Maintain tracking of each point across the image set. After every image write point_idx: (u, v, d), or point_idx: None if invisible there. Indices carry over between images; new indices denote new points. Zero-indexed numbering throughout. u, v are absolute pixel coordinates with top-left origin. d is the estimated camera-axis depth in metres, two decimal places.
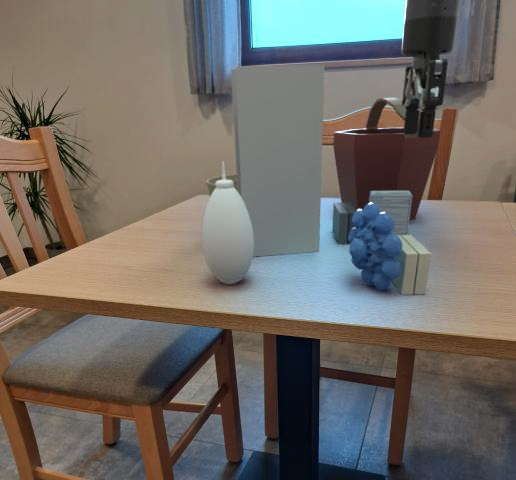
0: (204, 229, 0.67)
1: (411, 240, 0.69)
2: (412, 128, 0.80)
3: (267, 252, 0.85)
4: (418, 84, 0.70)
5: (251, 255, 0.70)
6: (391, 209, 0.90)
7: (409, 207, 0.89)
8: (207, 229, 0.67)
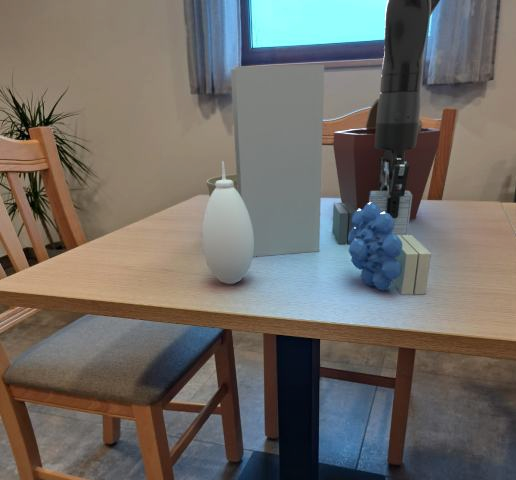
0: (204, 229, 0.67)
1: (411, 240, 0.69)
2: None
3: (267, 252, 0.85)
4: (387, 176, 0.86)
5: (251, 255, 0.70)
6: None
7: (409, 207, 0.89)
8: (207, 229, 0.67)
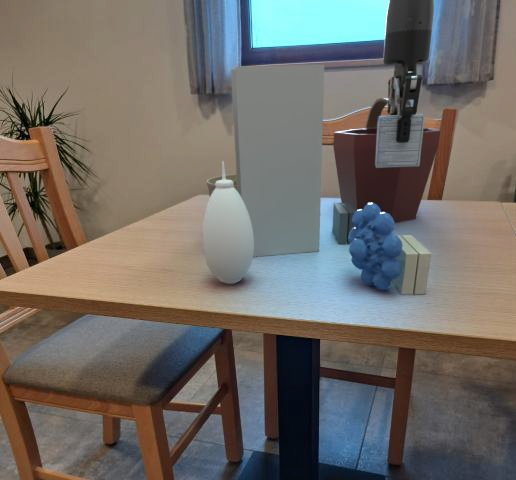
0: (204, 229, 0.67)
1: (411, 240, 0.69)
2: None
3: (267, 252, 0.85)
4: (397, 94, 0.79)
5: (251, 255, 0.70)
6: None
7: (421, 130, 0.82)
8: (207, 229, 0.67)
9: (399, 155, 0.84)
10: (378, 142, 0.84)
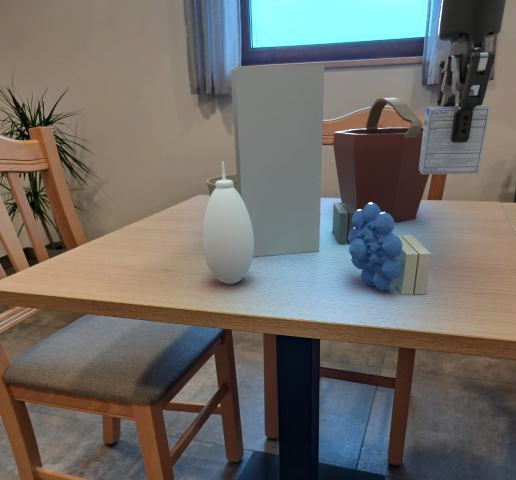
0: (204, 229, 0.67)
1: (411, 240, 0.69)
2: None
3: (267, 252, 0.85)
4: (456, 78, 0.60)
5: (251, 255, 0.70)
6: None
7: (485, 126, 0.62)
8: (207, 229, 0.67)
9: (454, 159, 0.65)
10: (427, 141, 0.65)
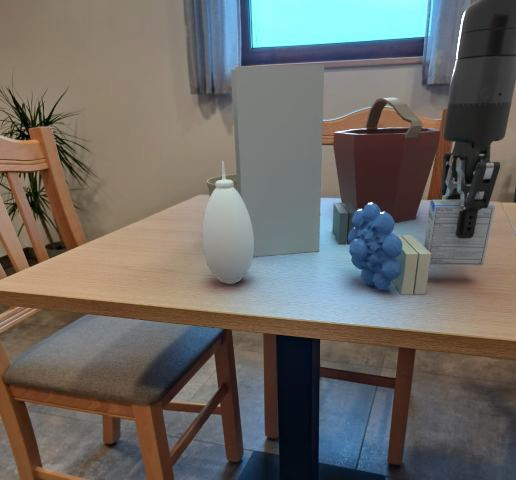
0: (204, 229, 0.67)
1: (411, 240, 0.69)
2: None
3: (267, 252, 0.85)
4: (461, 180, 0.61)
5: (251, 255, 0.70)
6: None
7: (489, 223, 0.63)
8: (207, 229, 0.67)
9: (458, 251, 0.66)
10: (432, 235, 0.66)
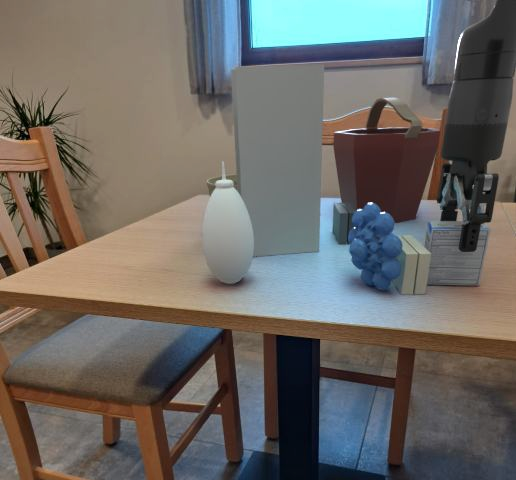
0: (204, 229, 0.67)
1: (411, 240, 0.69)
2: None
3: (267, 252, 0.85)
4: (461, 194, 0.61)
5: (251, 255, 0.70)
6: None
7: (485, 245, 0.65)
8: (207, 229, 0.67)
9: (455, 272, 0.67)
10: None
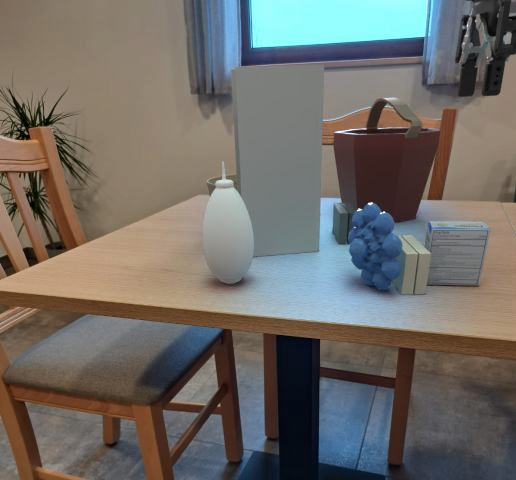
0: (204, 229, 0.67)
1: (411, 240, 0.69)
2: (468, 89, 0.69)
3: (267, 252, 0.85)
4: (484, 31, 0.59)
5: (251, 255, 0.70)
6: (460, 247, 0.66)
7: (485, 245, 0.65)
8: (207, 229, 0.67)
9: (455, 272, 0.67)
10: None
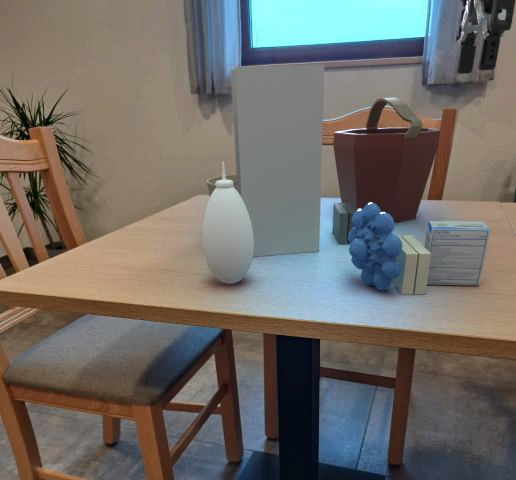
0: (204, 229, 0.67)
1: (411, 240, 0.69)
2: (467, 67, 0.73)
3: (267, 252, 0.85)
4: (481, 9, 0.64)
5: (251, 255, 0.70)
6: (460, 247, 0.66)
7: (485, 245, 0.65)
8: (207, 229, 0.67)
9: (455, 272, 0.67)
10: None
